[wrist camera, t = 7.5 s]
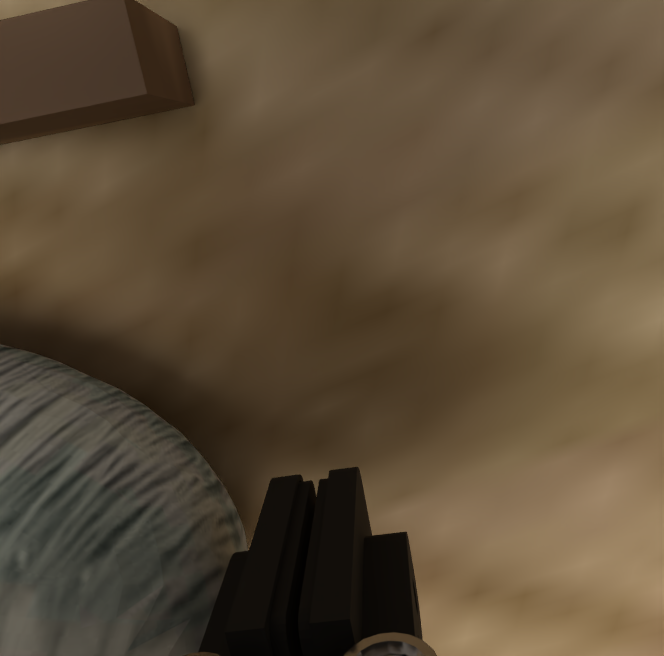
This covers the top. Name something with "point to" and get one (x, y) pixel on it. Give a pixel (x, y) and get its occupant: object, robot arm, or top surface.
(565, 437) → the top surface
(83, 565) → the grey rounded piece
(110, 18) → the guide channel
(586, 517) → the top surface
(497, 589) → the top surface
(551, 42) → the top surface
